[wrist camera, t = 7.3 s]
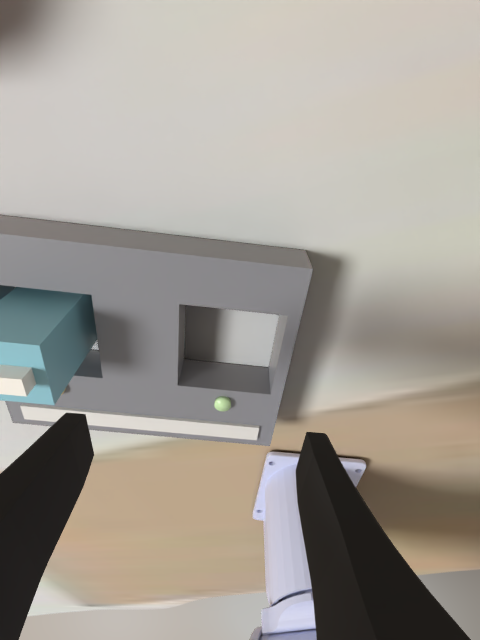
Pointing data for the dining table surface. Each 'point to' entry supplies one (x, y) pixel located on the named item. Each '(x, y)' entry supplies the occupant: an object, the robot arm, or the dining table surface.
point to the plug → (42, 342)
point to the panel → (159, 326)
